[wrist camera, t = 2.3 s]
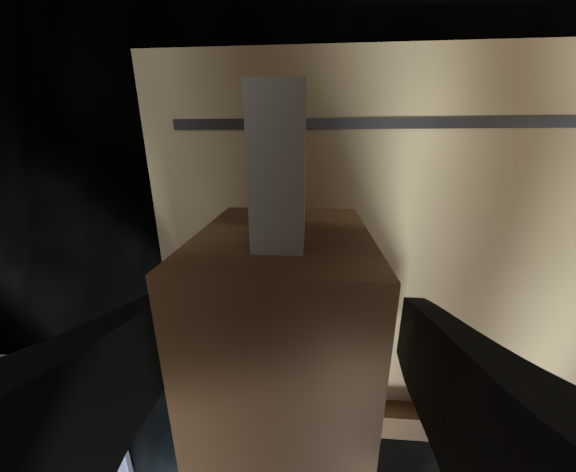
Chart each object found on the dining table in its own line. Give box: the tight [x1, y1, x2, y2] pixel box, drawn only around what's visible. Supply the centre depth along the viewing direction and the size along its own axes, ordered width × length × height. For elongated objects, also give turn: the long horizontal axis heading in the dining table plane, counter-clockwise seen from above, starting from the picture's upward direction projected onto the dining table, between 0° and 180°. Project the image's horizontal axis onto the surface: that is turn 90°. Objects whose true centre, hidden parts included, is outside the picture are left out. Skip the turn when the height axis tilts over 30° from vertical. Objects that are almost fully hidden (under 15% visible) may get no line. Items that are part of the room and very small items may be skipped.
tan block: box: [145, 76, 401, 472], centre depth 8 cm, size 4×10×5 cm, turn 0°
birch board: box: [131, 37, 576, 441], centre depth 9 cm, size 20×14×4 cm
